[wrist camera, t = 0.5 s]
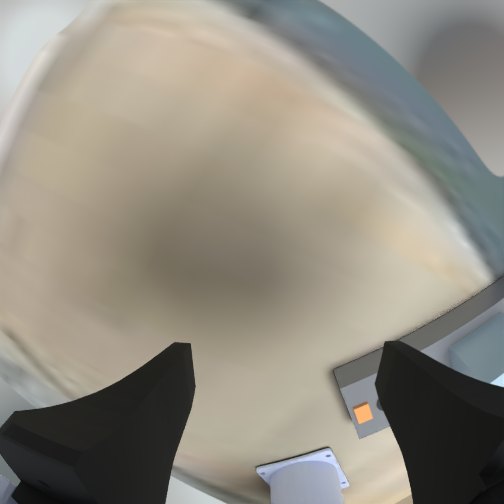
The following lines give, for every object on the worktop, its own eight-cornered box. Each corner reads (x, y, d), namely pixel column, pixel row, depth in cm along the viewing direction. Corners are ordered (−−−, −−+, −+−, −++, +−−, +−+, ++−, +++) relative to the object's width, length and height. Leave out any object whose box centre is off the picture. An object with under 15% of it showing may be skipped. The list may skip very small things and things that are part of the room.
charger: (489, 343, 20) (537, 388, 12) (442, 374, 21) (485, 430, 13) (488, 304, 19) (547, 346, 12) (438, 336, 20) (491, 392, 12)
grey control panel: (506, 333, 21) (521, 346, 18) (353, 420, 23) (360, 441, 20) (505, 274, 19) (524, 284, 17) (333, 369, 22) (340, 391, 19)
